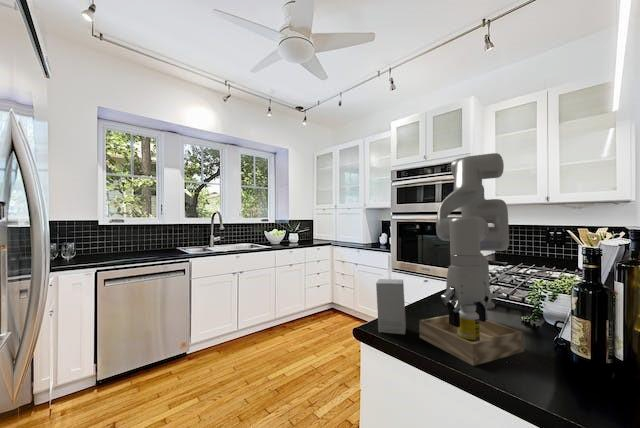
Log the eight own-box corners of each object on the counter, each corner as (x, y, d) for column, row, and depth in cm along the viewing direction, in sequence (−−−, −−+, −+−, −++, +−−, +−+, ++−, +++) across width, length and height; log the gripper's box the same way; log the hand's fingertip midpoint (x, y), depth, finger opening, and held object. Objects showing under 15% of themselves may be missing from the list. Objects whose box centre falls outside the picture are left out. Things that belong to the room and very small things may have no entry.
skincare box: (406, 327, 90) (404, 279, 90) (405, 335, 84) (403, 283, 84) (379, 325, 93) (378, 278, 93) (377, 332, 86) (375, 282, 87)
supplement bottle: (479, 345, 74) (478, 308, 74) (457, 341, 77) (455, 305, 77) (480, 338, 78) (479, 303, 79) (459, 334, 81) (457, 300, 82)
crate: (464, 328, 89) (464, 312, 89) (523, 351, 72) (522, 332, 72) (419, 337, 82) (419, 320, 82) (473, 365, 66) (472, 344, 66)
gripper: (475, 257, 85) (477, 314, 84) (431, 261, 78) (433, 323, 78) (499, 260, 78) (502, 322, 77) (453, 265, 71) (455, 332, 71)
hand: (467, 322), depth 77 cm, fingers open, 9 cm apart
